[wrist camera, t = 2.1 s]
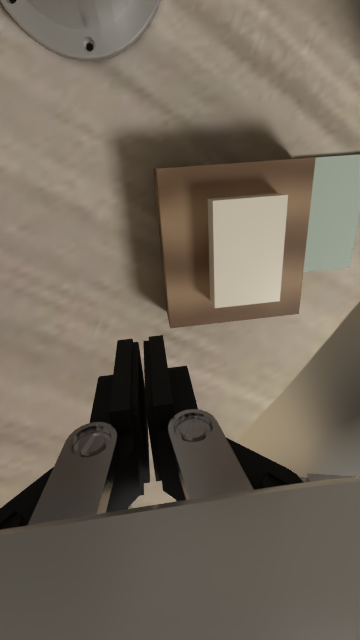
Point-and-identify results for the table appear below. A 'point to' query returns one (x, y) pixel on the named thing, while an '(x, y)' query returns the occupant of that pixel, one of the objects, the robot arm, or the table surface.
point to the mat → (333, 213)
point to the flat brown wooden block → (193, 239)
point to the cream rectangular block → (246, 248)
